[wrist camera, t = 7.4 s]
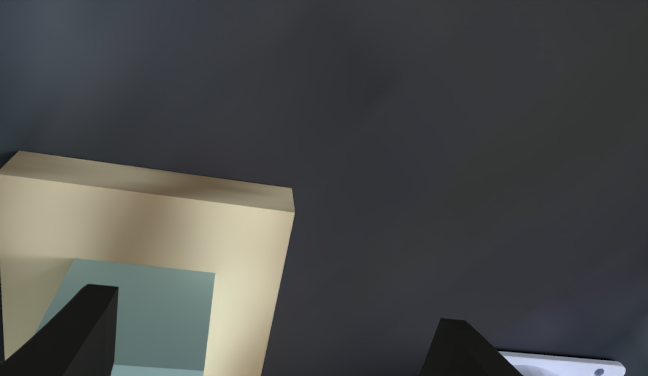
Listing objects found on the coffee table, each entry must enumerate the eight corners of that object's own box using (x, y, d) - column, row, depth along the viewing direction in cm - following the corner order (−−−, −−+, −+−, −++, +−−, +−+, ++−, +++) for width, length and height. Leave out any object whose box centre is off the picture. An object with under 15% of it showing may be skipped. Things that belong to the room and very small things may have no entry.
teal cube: (215, 272, 21) (204, 370, 16) (200, 372, 23) (187, 483, 18) (74, 258, 20) (21, 358, 15) (73, 363, 22) (25, 478, 17)
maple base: (291, 188, 22) (294, 212, 20) (253, 376, 26) (253, 410, 24) (18, 150, 20) (-5, 173, 18) (25, 360, 24) (6, 396, 22)
